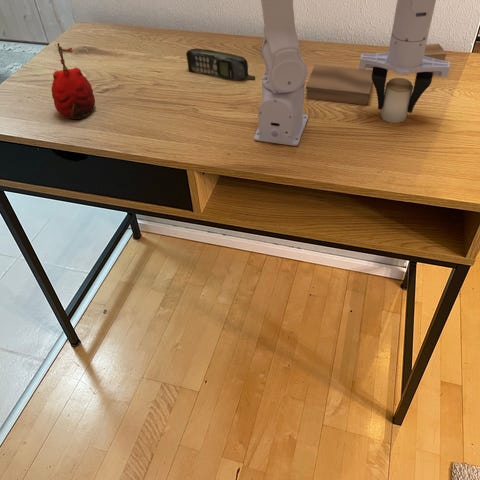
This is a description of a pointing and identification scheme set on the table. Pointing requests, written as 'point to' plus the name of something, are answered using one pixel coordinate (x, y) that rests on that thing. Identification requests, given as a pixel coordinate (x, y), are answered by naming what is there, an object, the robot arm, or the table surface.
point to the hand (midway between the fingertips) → (395, 108)
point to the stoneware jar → (396, 100)
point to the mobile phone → (218, 64)
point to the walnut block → (435, 51)
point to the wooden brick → (339, 84)
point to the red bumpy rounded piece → (71, 91)
